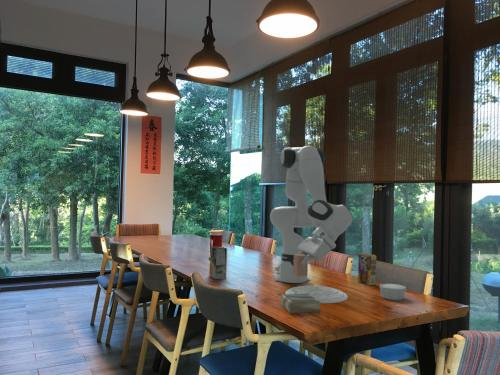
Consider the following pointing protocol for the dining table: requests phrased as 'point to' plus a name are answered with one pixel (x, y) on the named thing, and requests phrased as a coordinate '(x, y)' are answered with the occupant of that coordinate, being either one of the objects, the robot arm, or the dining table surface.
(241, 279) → the dining table surface
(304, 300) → the base block
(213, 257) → the coffee box
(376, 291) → the dining table surface
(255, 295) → the dining table surface
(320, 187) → the robot arm
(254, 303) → the dining table surface
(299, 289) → the ceiling medallion
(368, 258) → the candy box
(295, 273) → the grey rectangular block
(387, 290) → the ramekin
